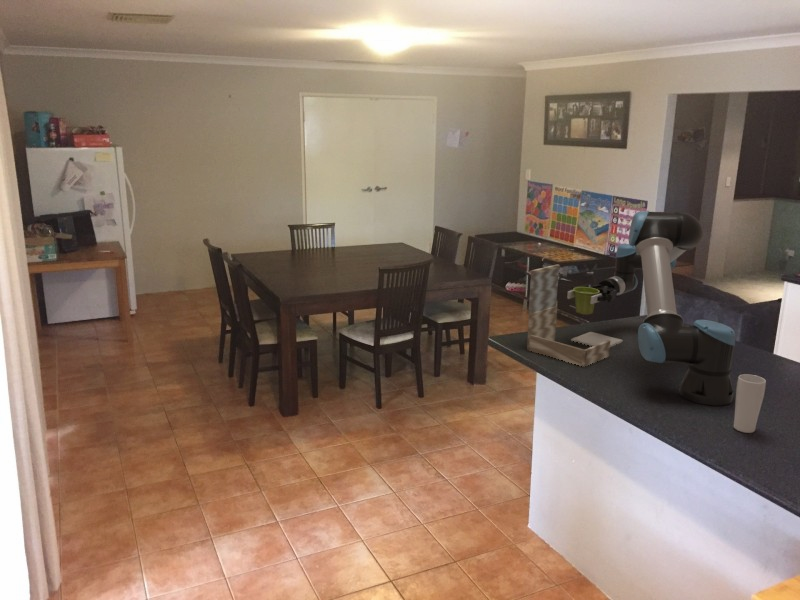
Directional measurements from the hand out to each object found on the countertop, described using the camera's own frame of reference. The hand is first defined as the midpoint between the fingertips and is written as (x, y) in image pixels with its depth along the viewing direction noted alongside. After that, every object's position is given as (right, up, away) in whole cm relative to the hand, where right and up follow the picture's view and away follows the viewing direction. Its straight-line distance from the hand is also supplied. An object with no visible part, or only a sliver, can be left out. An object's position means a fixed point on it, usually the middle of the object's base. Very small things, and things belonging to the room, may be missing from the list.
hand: (579, 297), depth 240 cm
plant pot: (+3, -6, +5) cm, 8 cm away
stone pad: (+10, -17, +13) cm, 24 cm away
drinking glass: (+29, -37, -59) cm, 75 cm away
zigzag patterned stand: (-4, -20, 0) cm, 21 cm away
